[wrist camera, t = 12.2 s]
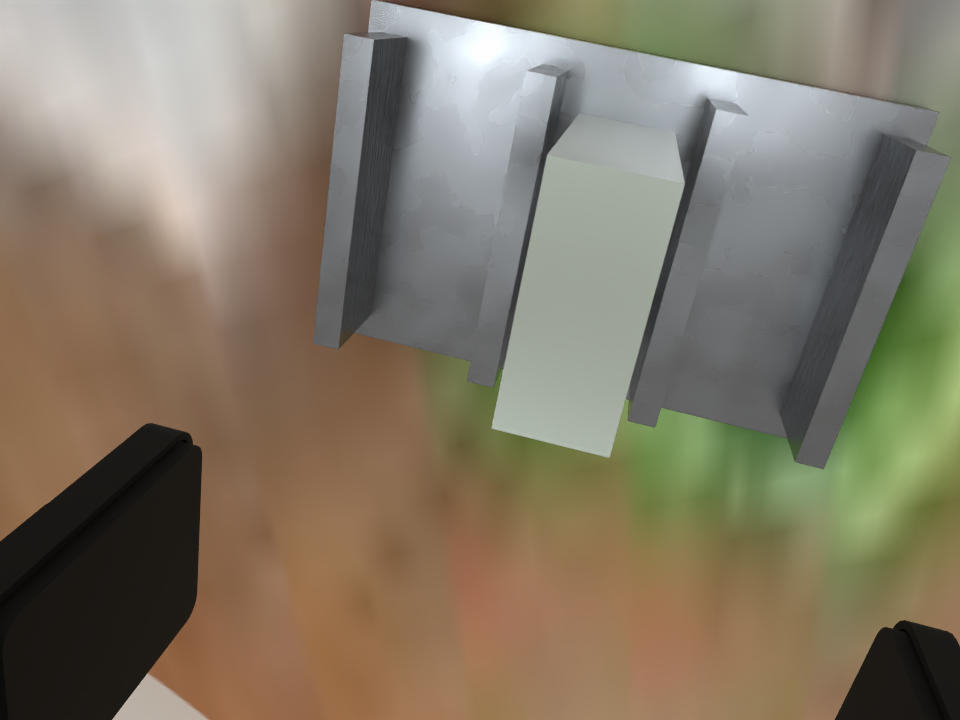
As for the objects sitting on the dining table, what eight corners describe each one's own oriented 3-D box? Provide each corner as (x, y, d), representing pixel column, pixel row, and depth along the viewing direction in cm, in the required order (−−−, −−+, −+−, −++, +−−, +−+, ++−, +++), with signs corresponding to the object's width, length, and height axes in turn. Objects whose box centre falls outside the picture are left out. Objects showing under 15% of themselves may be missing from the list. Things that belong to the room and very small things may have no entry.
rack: (383, 0, 31) (332, -3, 26) (926, 108, 29) (982, 126, 24) (346, 316, 36) (298, 363, 31) (802, 426, 34) (828, 496, 29)
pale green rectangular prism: (579, 113, 30) (546, 154, 21) (675, 132, 29) (684, 183, 20) (535, 316, 33) (491, 428, 24) (621, 335, 33) (609, 457, 24)
